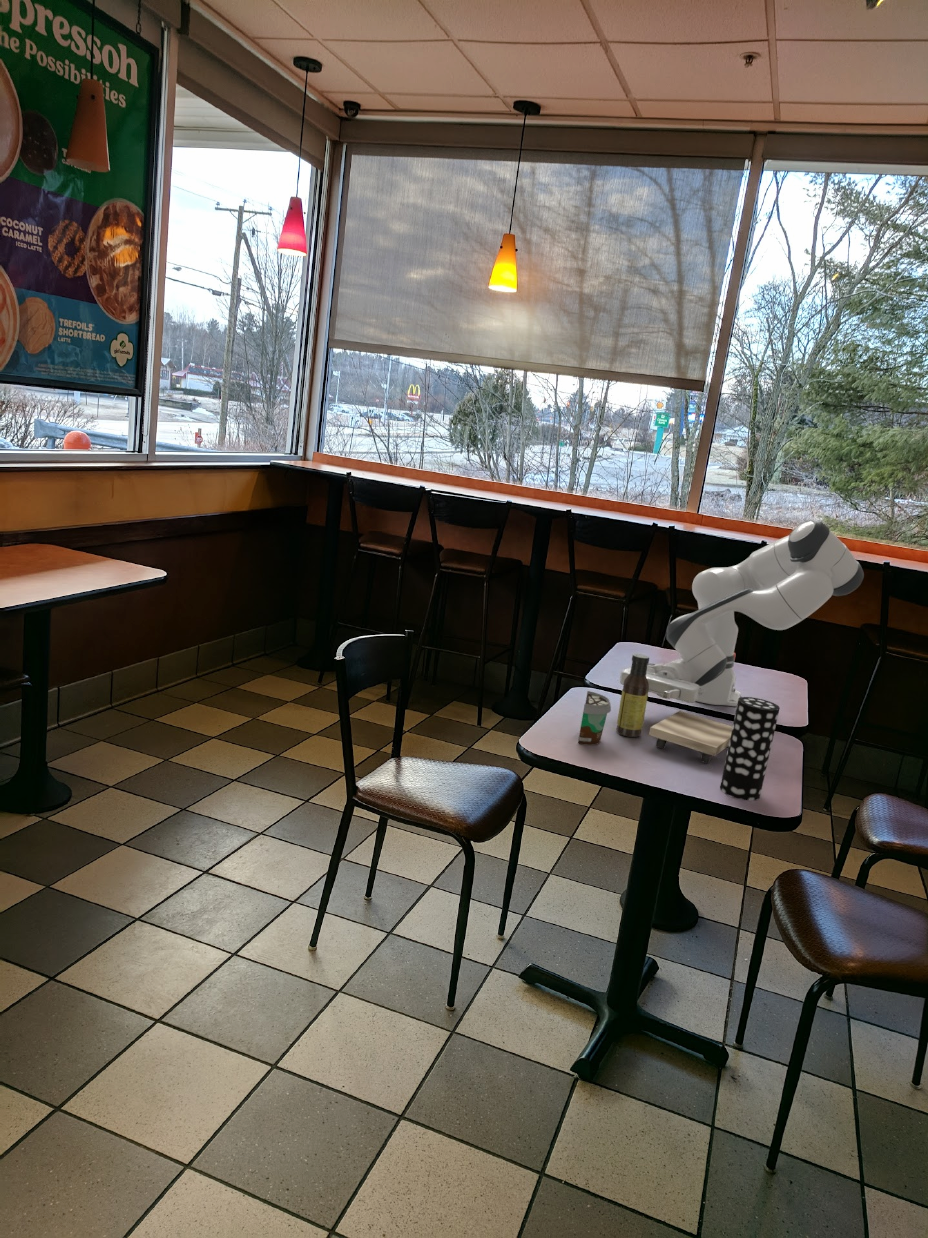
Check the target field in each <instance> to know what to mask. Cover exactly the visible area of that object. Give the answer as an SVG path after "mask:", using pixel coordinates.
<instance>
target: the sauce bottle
mask: <svg viewBox="0 0 928 1238" xmlns="http://www.w3.org/2000/svg"><path fill="white" fill-rule="evenodd" d="M649 661H650V657H649V656H648V655H645V654H641V653H640V654H639V653H634V654H632V657H631V666H632V667H631V666H630V667H631V670H630V674H629V675H628V676H627V677H626V679H625V680H624V685H622V691H621V698H620V700H619V701H620V703H619V708H618V715H617V721H616V732H618V733H617V734H619V735H620V736H624V737H628V738H636V737H639V736H641V734H642V730H643V728H644V727H643V726H644V721H645V714H646V710H647V709H646V708H647V703H648V696H649V692H648V691H649V683H648V681H647V678H646V671H647V665H648V663H650V662H649Z"/></svg>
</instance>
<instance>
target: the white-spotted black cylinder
mask: <svg viewBox="0 0 928 1238" xmlns="http://www.w3.org/2000/svg"><path fill="white" fill-rule="evenodd" d="M780 708H781V707H780V706H779V705H778V704H776V703H774V702H772V701H769V700H766V699H763V698H758V697H752V696H740V698H739V699H738V703H737V706H736V710H735V715H734V719H733V724H732V726H733V728H732V732H731V737H730V742H729V747H728V748H727V752H726V757H725V761H724V766H723V770H722V771H723V772H722V774H721V775H722V776H721V781H720V784H719V789H720V791H721V792H723V793H724V794H725V795H727V796H729V797H732V798H735V799H739V800H742V801H750V802H751V801H758V800H759V799H760V798H761V794H762V789H763V785H764V780H765V776H766V772H767V767H768V762H769V757H770V754H771V749H772V744H773V740H774V736H775V732H776V726H777V722H778V718H779V712H780Z"/></svg>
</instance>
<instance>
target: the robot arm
mask: <svg viewBox="0 0 928 1238" xmlns="http://www.w3.org/2000/svg"><path fill="white" fill-rule="evenodd" d="M864 578H865V573H864V570H863V568H862V565H861V564H860V562H859V561H858V560H856V558H855V557H854V555H853V553H852V552H851V551H850V549H849V548H848V547H847V545H846V544H845V543H843V542H842V541H841V540H840V538H838V537H837V536H836V535H835V534H834V533H833V532H832V531H831V530H830V528H829V527H828V526H827V525H826V524H825V523H823V522H822V521H820V520H817V519H809V520H806V521H804V522H801V523H800V524H798V525H797V526H795V528H793V530H792V531H791V532H790V534H789V535H787V536H784V537H781V538H779V539H777V540H776V541H775V540H774V541H773V542H771V543H769V544H768V545H765V546H763V547H761V548H758V549H757V550H755V551H752V552H751V554H750V555H749V556H748V557H747V558H746V559H745V560H743V561H741V562H740V563H738V564H736V565H732V566H728V567H726V566H725V567H711V568H708V569H705V570H703V571H701V572H698V574H697V575H696V576H695V577H694V578H693V582H692V585H691V589H692V590H691V591H692V594H693V596H694V598H695V600H696V601H697V607H698V610H697V609H696V610H695V611H693V612H691V613H687V614H684V615H680V616H678V617H676V618H675V619H673V620H672V621H671V622H670V623H669V624H668V625H667V628H666V640H667V642H668V643H669V645H671V646H672V647H673V649H675V650H676V652H677V653H678V655H679V656H680V658H677V659H674V660H672V661H670V662H667V663H653V662H652V663H650V662H649V663H648V665H647V671H646V678H647V681H648V683H649V691H648V693H652V694H654V695H656V696H659V697H660V698H662V699H665V700H669V699H674V700H677V701H681V702H684V703H688V704H691V703H692V704H694V703H695V702H699V703H704V704H707V705H715V706H729V707H737V704H738V699H739V698H741V697H742V696H741V695H742V693H741V692H740V691H739V690H737V689H736V687H735V686H736V681H737V676H736V673H735V670H734V668H733V667H734V665H735V660H736V652H735V648H736V644H737V638H738V633H739V627H738V625H737V623H736V621H735V612H738V613H741V614H743V615H746V616H747V617H749V618H751V619H752V620H753V621H755V622H757V623H758V624H760V625H762V626H763V627H766V628H768V629H771V630H774V631H776V630H777V631H783V630H784V631H785V630H787V629H789V628H791V627H793V626H795V625H798V624H799V623H801V622H802V621H804V620H805V619H806V618H808V617H809V616H811V615H812V614H813V613H815V612H816V611H817V610H818V609H819V608H821V607H822V606H823V605H824V604H825V603H827V602H828V600H830V598H831V597H832V596H835V597H842V596H847V595H848V594H851V593H852V592H854V591H855V590H857V589H858V588H859V587H860V586H861V584H862V582H863V580H864ZM631 667H632V665H631V666H628V667H627V668H624V669H622V670H621V672H620V676H619V683H620V685H622V686H623V685H624V680H625V679H626V677H627V676H628V675H629V674H630V670H631Z"/></svg>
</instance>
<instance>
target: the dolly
mask: <svg viewBox="0 0 928 1238" xmlns="http://www.w3.org/2000/svg"><path fill="white" fill-rule="evenodd" d="M732 728H733V725H730V724H727V723H726V724H725V723H723V722H720V721H715V720H713V719H710V718H706V717H703V716H699V715H695V714H692V713H689V712H685V711H682V710H679V711H677V712H674V713H673V714H671V715H669V716H667V717H666V718H664V719H662V720H661V721H659V722H657V723H655V724H653V725H652V726H650V727H649V733H648V735H649V736H651V737H653V738H656V743H655V744H656V745H655V747H656V748H660V749H661V750H662V749H664V748H665V747H666V745H667V742H670V743H671V744H676V745H680V746H682V747H684V748H685V747H686V748H688V749H692V750H694V751H697V752H701V757H700V761H701V762H702V763H704V764H709V763H710V761H711V758H712V756H714V757H715V756H717V755H718V754H720V753H721V752H722V751H724V750H725V749H728V747H729V742H730V737H731V732H732Z"/></svg>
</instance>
